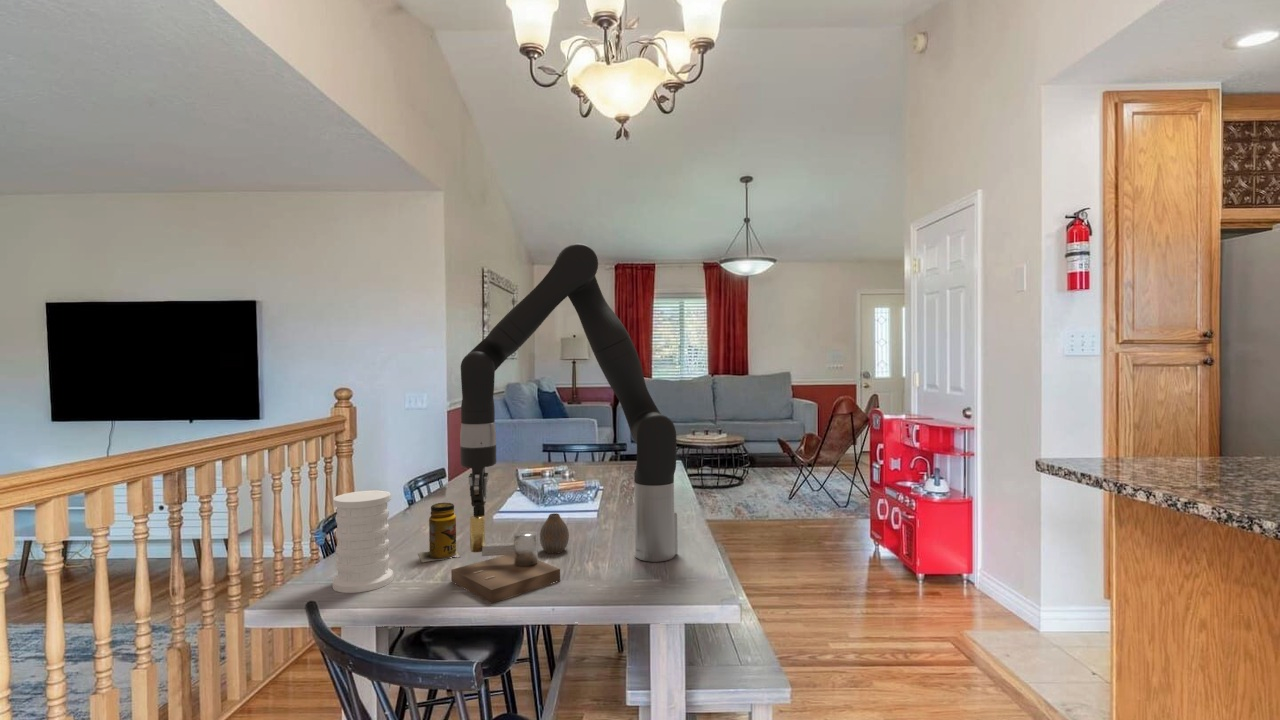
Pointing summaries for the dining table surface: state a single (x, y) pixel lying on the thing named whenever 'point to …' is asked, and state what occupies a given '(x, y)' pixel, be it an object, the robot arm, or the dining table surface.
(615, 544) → the dining table surface
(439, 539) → the condiment
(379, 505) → the decorative container
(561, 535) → the vase
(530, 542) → the crank handle
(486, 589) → the stand
